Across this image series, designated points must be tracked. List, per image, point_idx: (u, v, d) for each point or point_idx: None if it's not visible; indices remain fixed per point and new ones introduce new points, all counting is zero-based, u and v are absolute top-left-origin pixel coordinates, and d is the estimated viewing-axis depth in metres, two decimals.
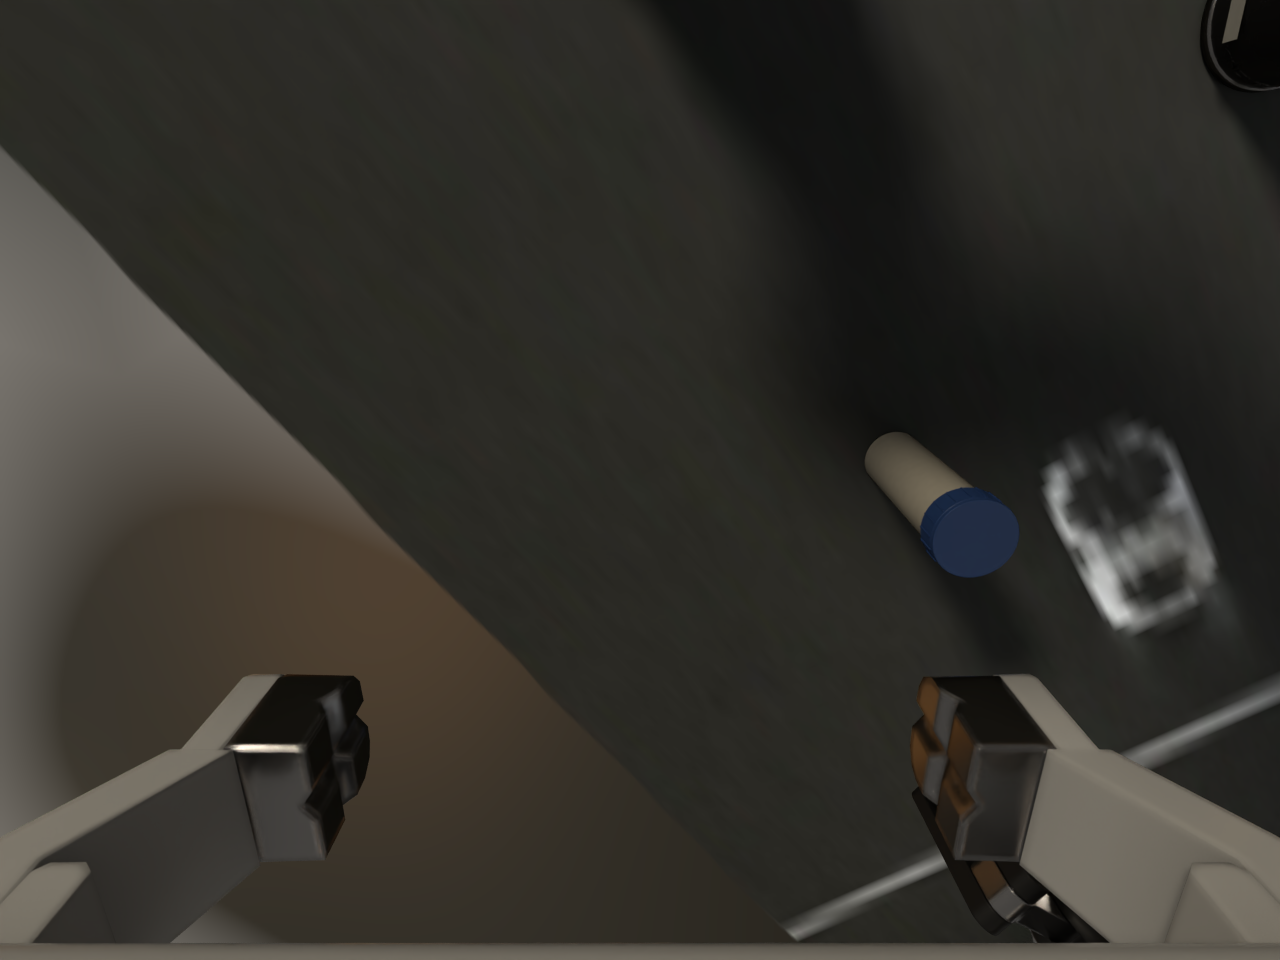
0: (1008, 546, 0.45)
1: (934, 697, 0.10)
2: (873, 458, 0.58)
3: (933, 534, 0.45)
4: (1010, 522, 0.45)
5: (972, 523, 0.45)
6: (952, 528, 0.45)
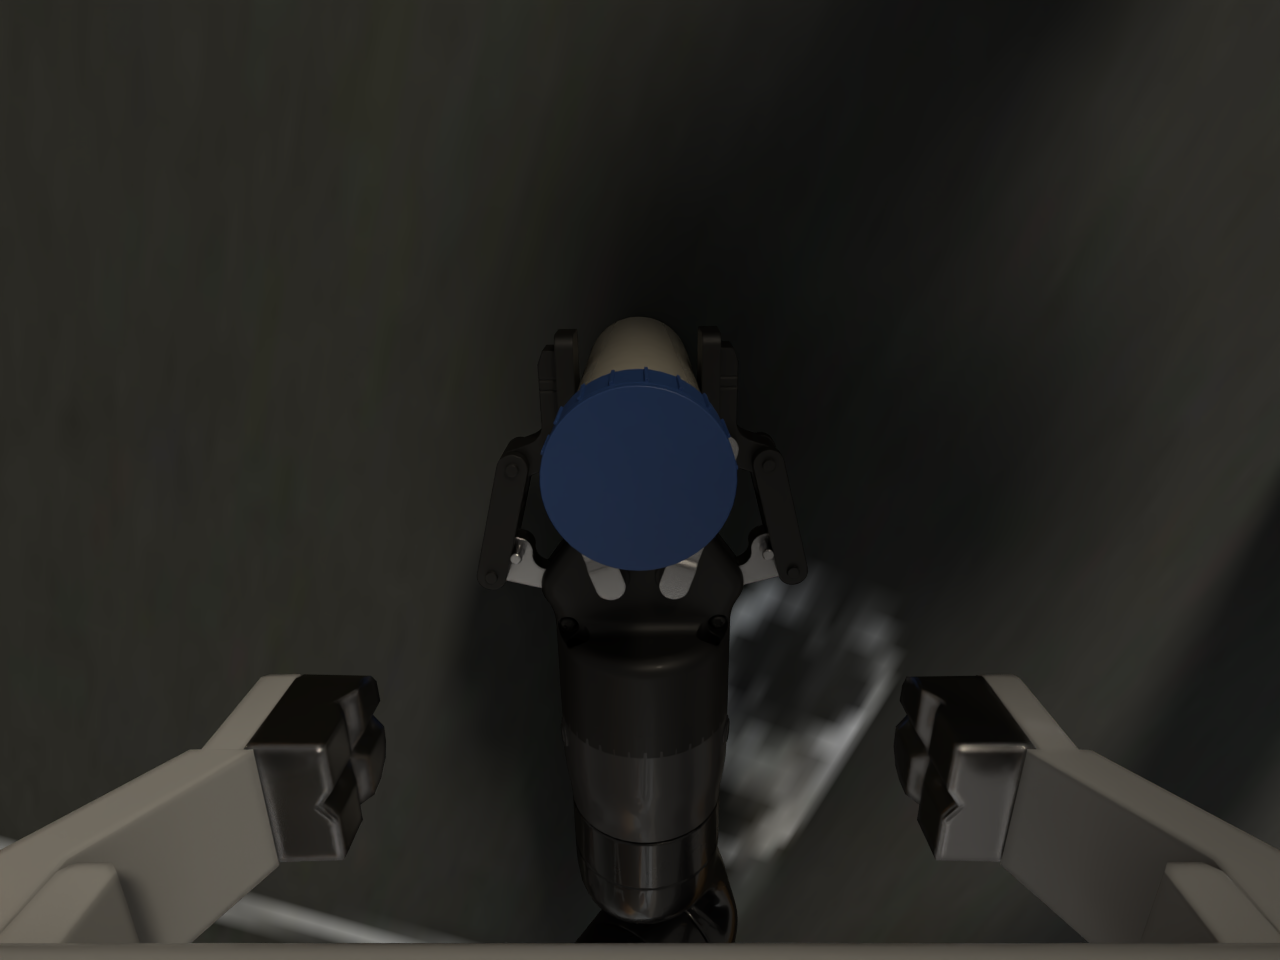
0: (668, 549, 0.20)
1: (917, 697, 0.10)
2: (621, 325, 0.32)
3: (588, 397, 0.19)
4: (713, 514, 0.20)
5: (663, 448, 0.19)
6: (626, 421, 0.19)
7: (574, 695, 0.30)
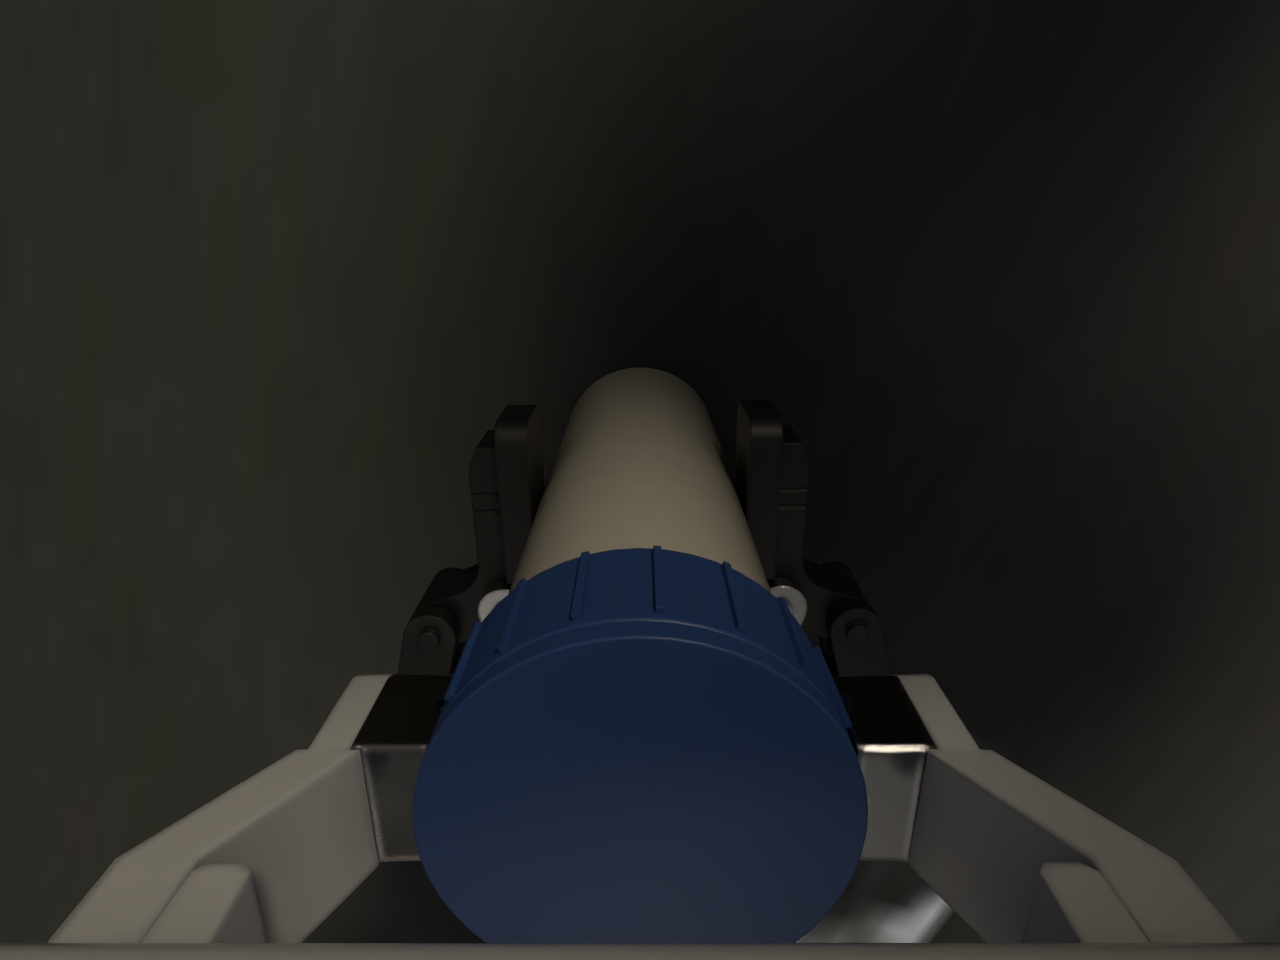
0: None
1: None
2: (614, 384, 0.21)
3: (520, 657, 0.08)
4: (809, 890, 0.09)
5: (699, 768, 0.08)
6: (613, 711, 0.08)
7: None
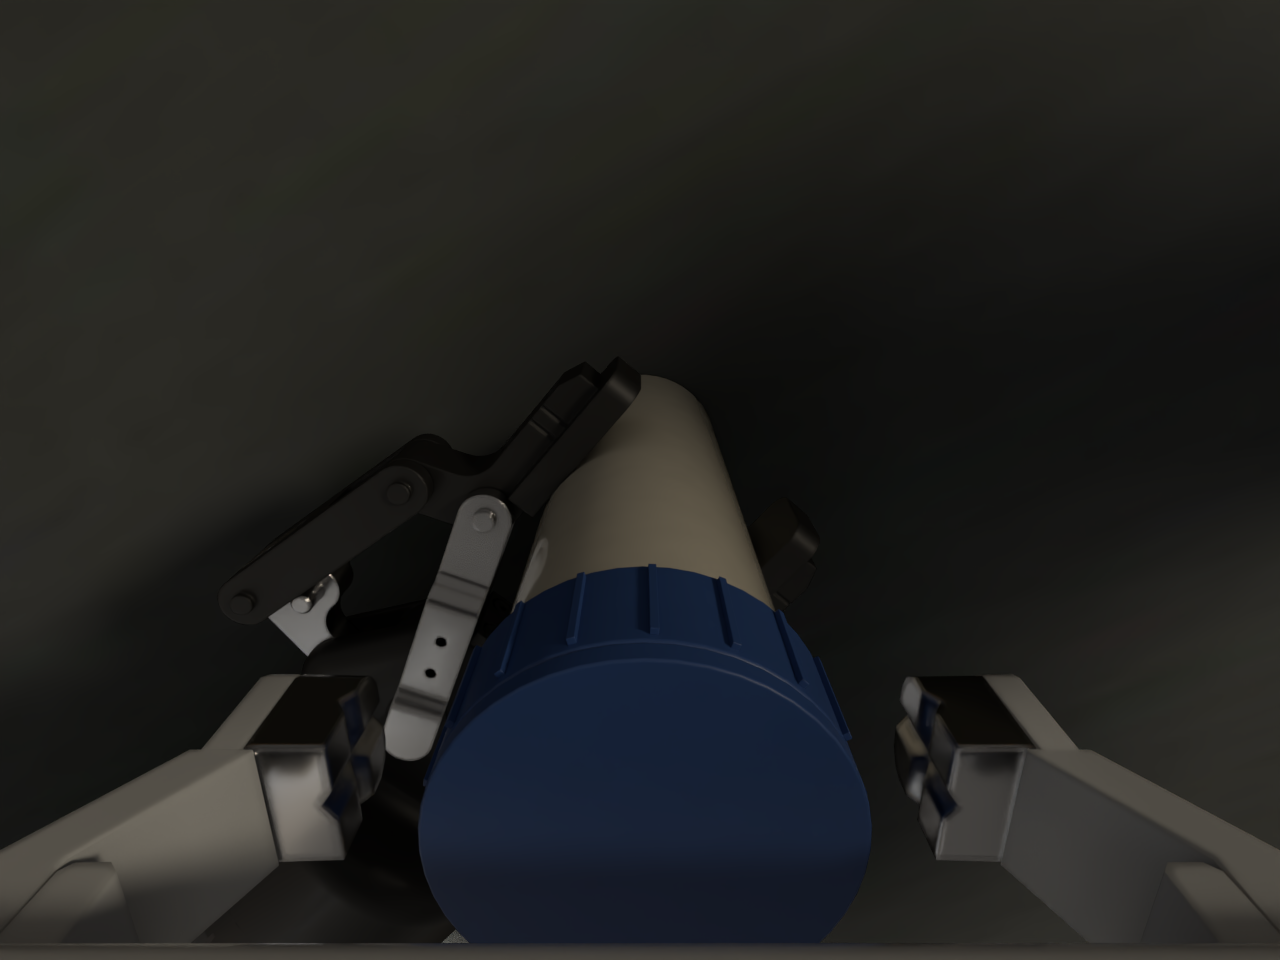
0: None
1: (917, 697, 0.10)
2: (673, 394, 0.21)
3: (458, 730, 0.08)
4: (836, 855, 0.09)
5: (667, 775, 0.08)
6: (561, 750, 0.08)
7: None
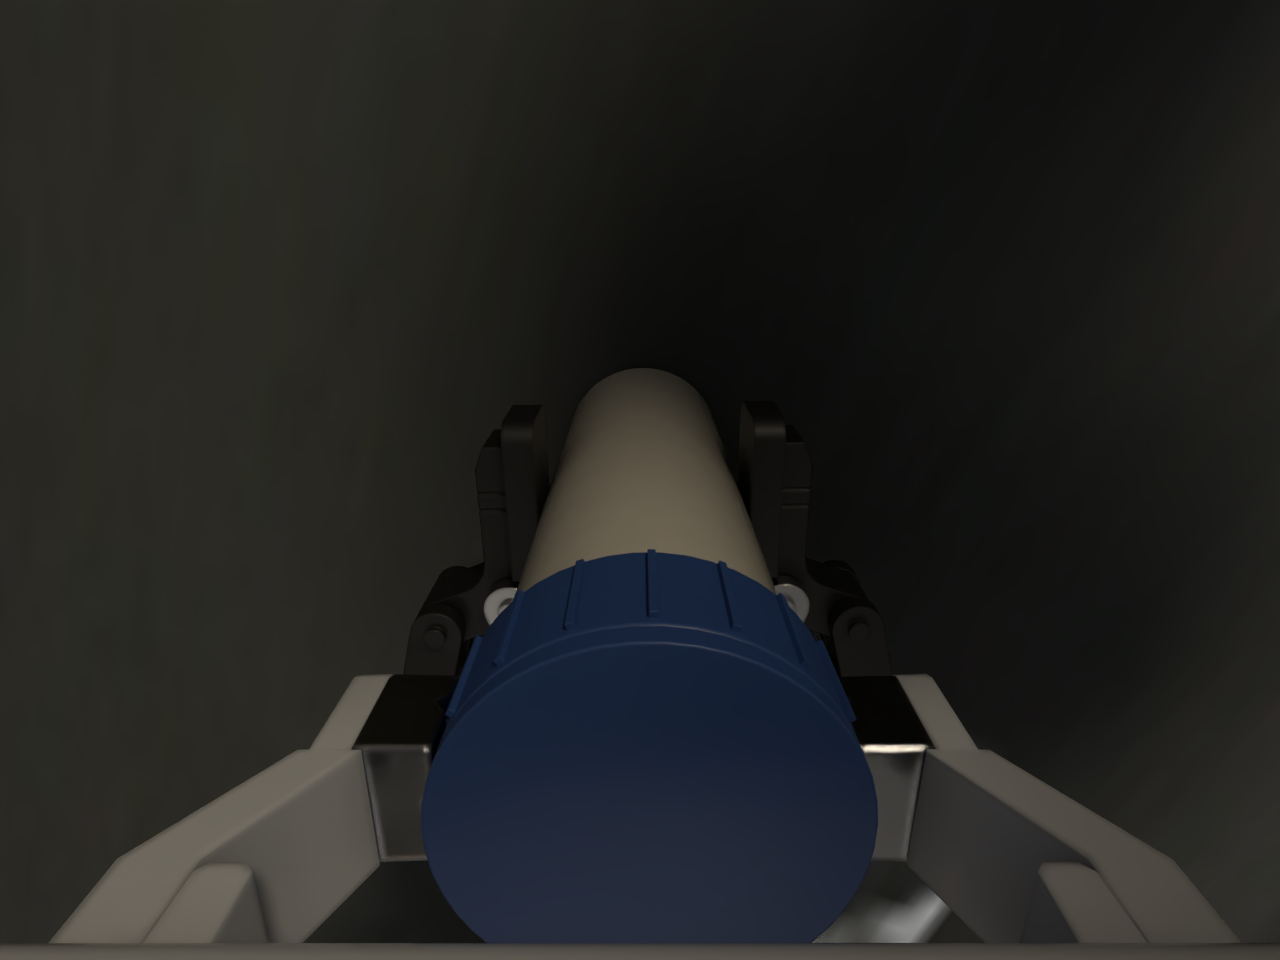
0: (833, 846, 0.09)
1: None
2: (617, 384, 0.21)
3: (426, 838, 0.09)
4: (808, 736, 0.08)
5: (599, 769, 0.08)
6: (504, 804, 0.08)
7: None
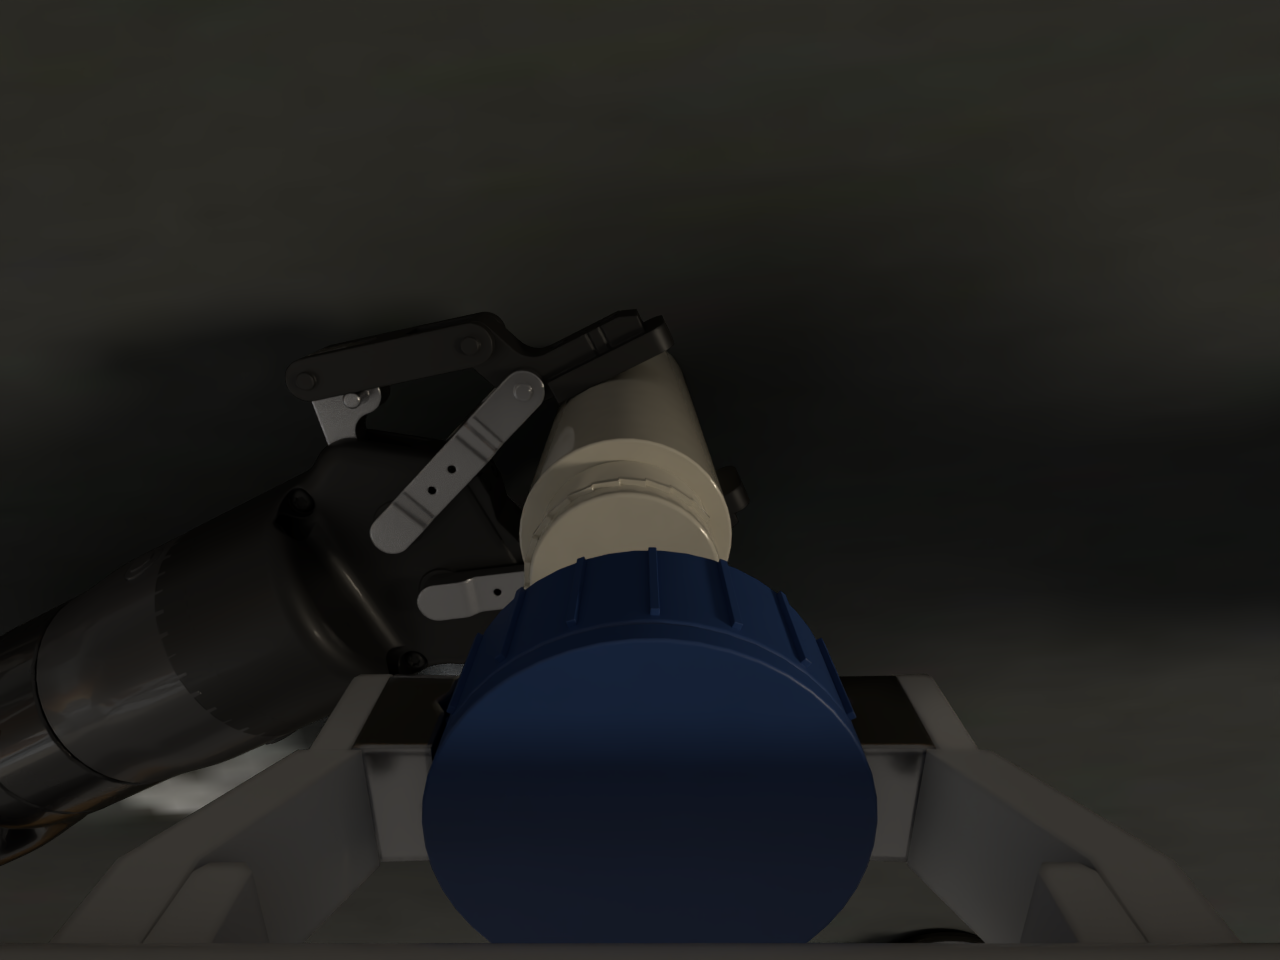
0: (832, 844, 0.09)
1: None
2: (673, 364, 0.26)
3: (426, 834, 0.09)
4: (808, 734, 0.08)
5: (599, 766, 0.08)
6: (504, 801, 0.08)
7: (213, 563, 0.21)
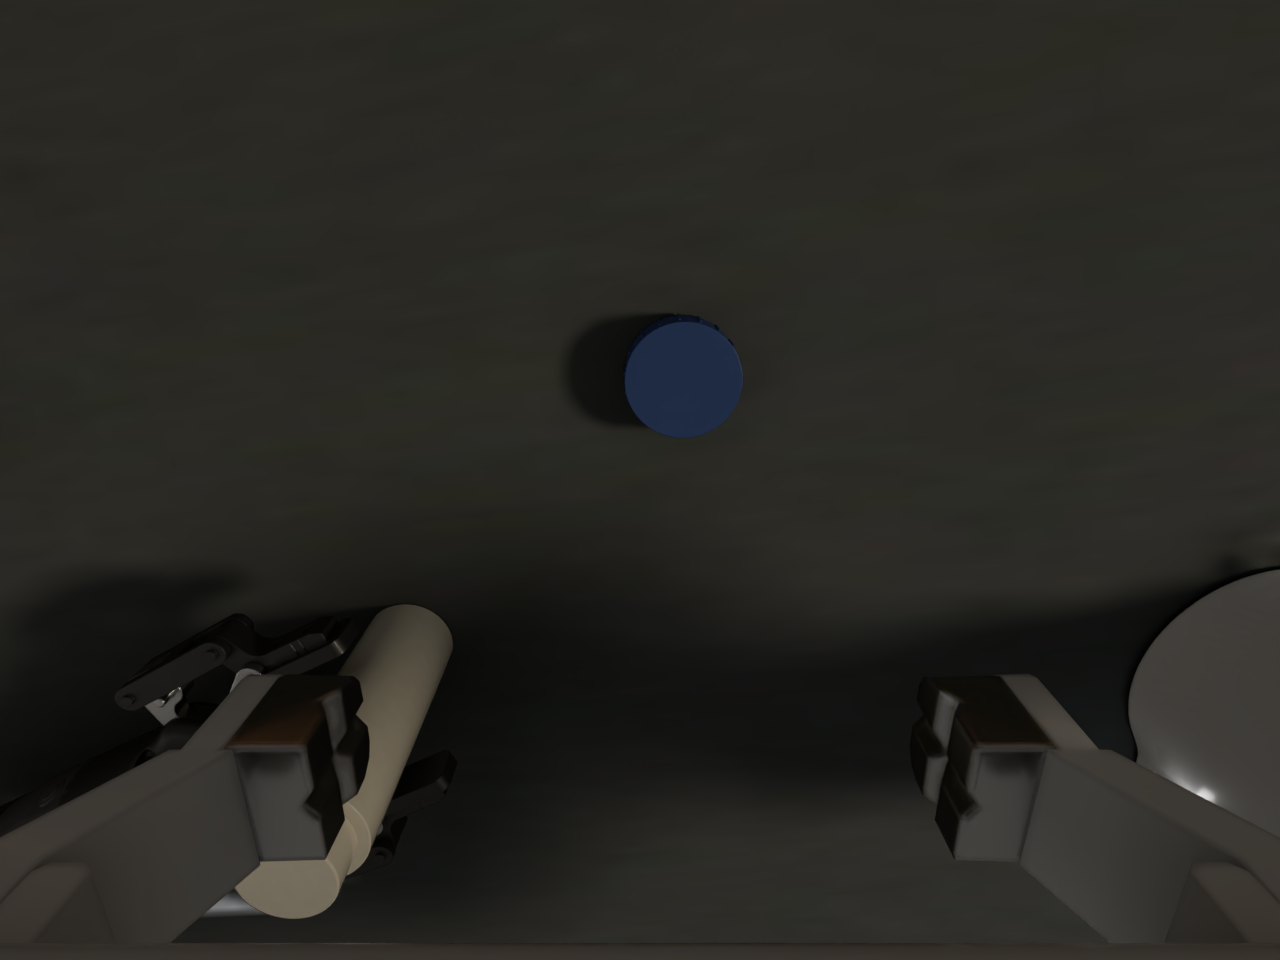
0: (731, 380, 0.33)
1: (935, 698, 0.10)
2: (428, 634, 0.38)
3: (625, 388, 0.33)
4: (720, 346, 0.32)
5: (669, 360, 0.32)
6: (645, 373, 0.33)
7: None
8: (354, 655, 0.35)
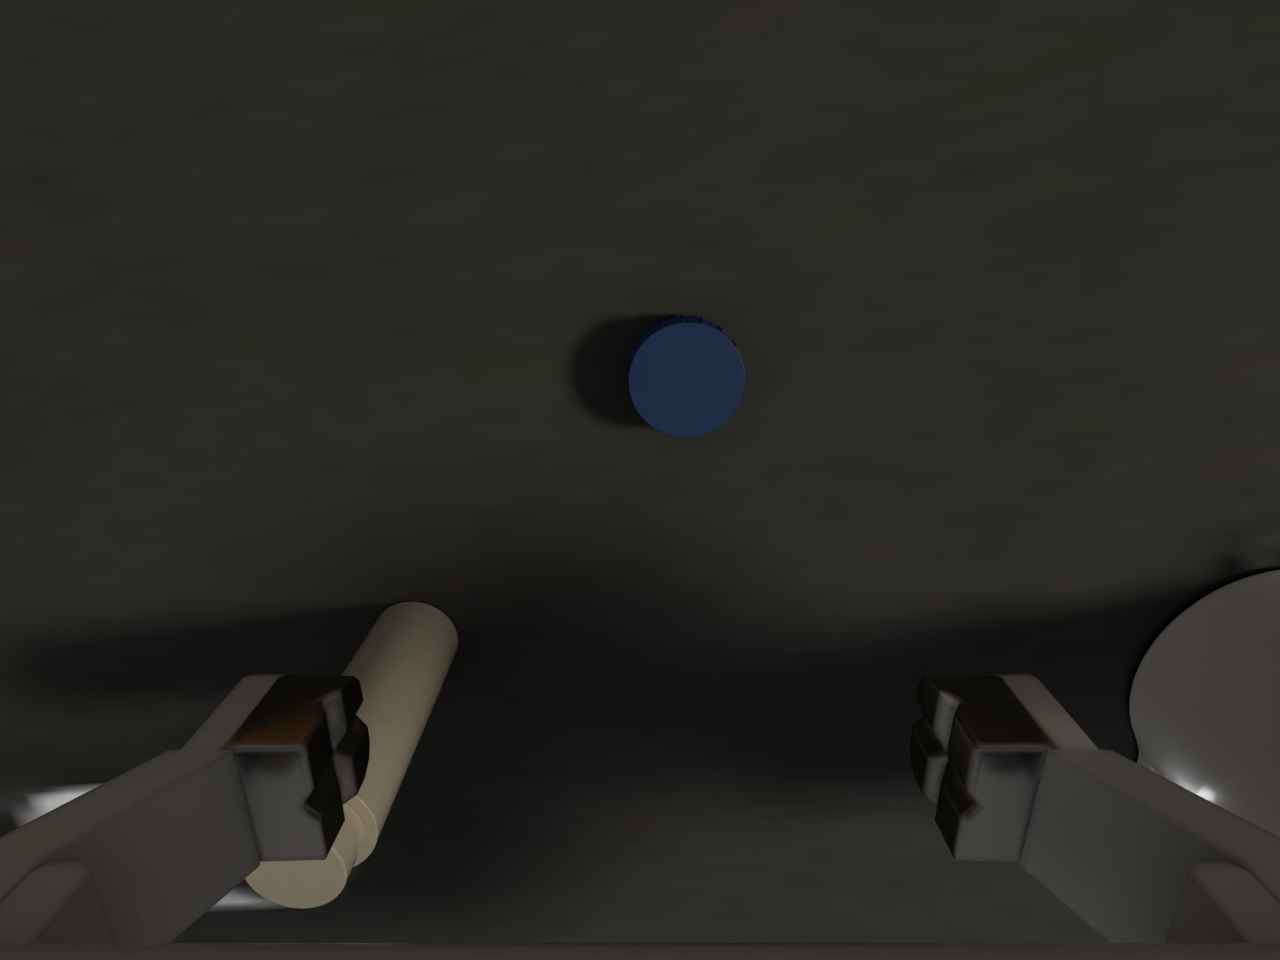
0: (734, 380, 0.33)
1: (934, 697, 0.10)
2: (434, 631, 0.38)
3: (629, 388, 0.33)
4: (723, 346, 0.33)
5: (672, 360, 0.33)
6: (649, 373, 0.33)
7: None
8: (361, 651, 0.36)
